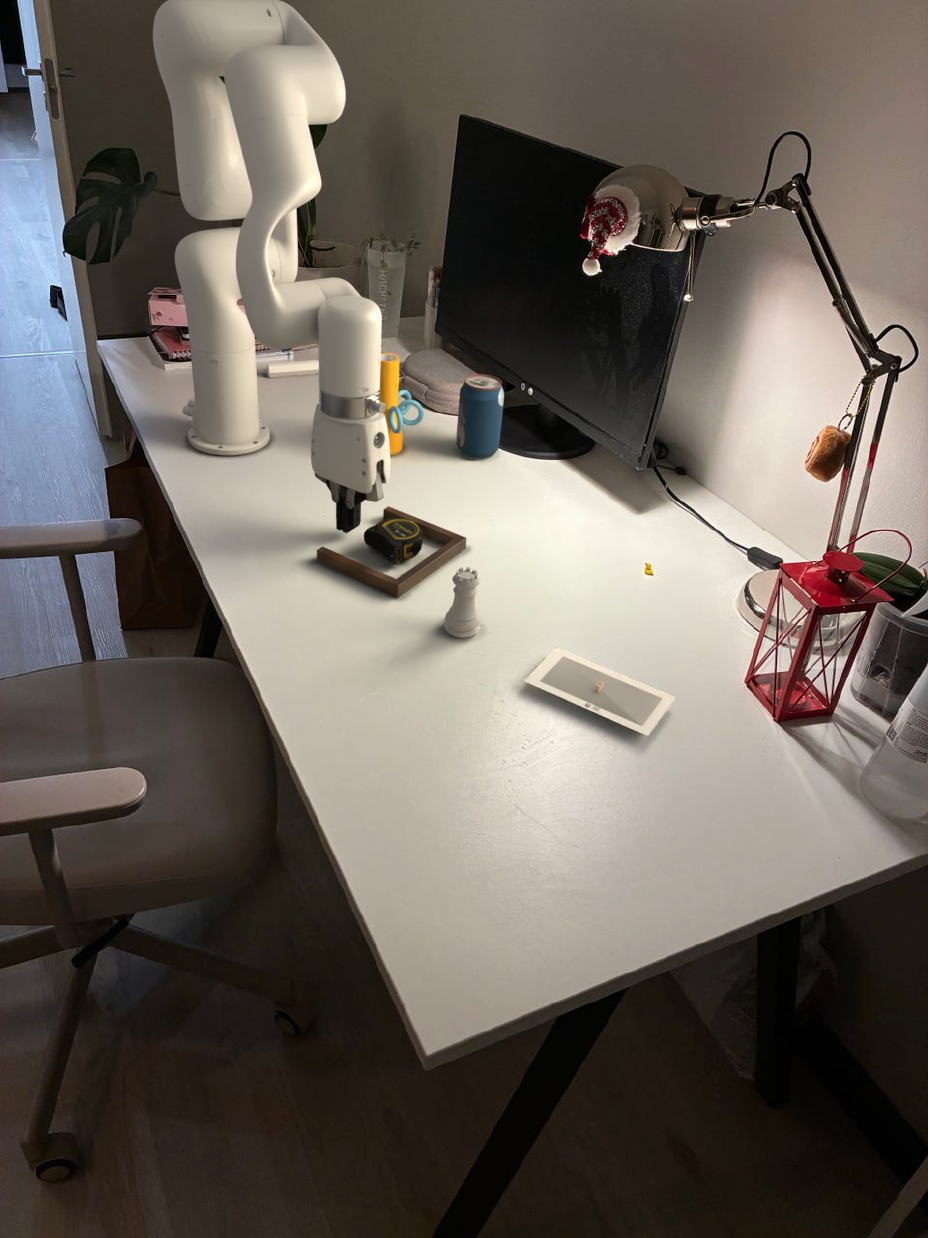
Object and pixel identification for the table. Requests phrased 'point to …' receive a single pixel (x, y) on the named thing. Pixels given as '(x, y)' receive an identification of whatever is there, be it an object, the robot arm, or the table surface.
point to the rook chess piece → (463, 605)
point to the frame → (410, 578)
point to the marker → (293, 368)
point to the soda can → (479, 416)
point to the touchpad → (601, 690)
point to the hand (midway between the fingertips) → (348, 527)
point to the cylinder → (395, 401)
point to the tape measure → (395, 539)
